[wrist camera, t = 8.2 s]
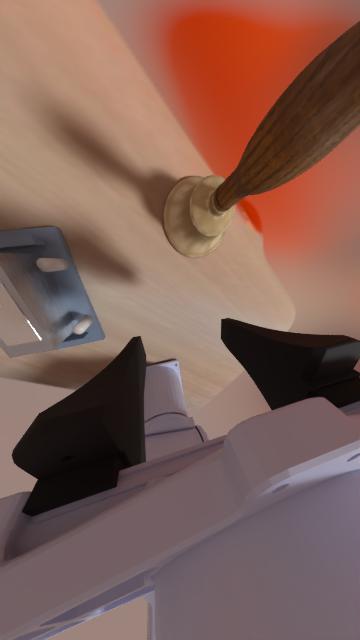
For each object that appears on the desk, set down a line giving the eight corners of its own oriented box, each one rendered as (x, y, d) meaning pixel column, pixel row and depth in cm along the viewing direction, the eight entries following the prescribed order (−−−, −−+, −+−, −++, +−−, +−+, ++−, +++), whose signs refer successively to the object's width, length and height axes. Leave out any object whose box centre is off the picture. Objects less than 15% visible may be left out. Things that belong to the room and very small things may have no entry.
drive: (77, 327, 18) (54, 349, 14) (45, 332, 18) (9, 358, 13) (40, 254, 14) (-10, 252, 10) (-3, 259, 14) (-78, 258, 9)
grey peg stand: (105, 336, 20) (96, 352, 17) (39, 349, 19) (16, 368, 16) (59, 228, 14) (31, 218, 11) (-42, 236, 13) (-109, 228, 10)
